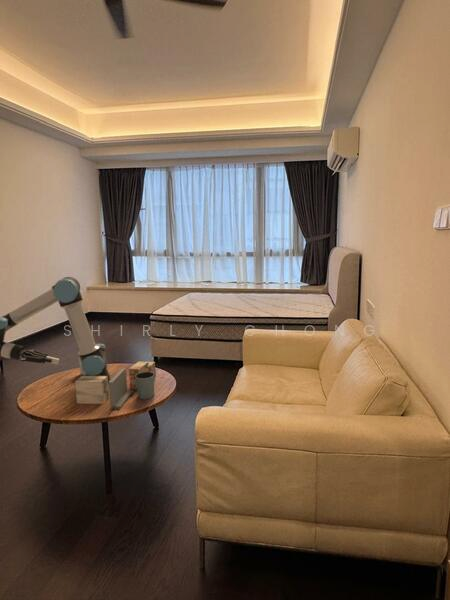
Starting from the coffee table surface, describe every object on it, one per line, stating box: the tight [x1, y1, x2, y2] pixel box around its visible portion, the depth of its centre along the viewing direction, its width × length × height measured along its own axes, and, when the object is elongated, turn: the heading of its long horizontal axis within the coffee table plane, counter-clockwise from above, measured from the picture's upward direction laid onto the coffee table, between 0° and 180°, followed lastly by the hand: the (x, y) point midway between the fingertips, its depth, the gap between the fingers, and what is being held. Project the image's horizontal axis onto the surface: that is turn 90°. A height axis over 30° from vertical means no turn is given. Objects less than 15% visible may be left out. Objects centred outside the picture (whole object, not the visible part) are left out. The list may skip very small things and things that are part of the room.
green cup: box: [135, 372, 156, 400], centre depth 206 cm, size 10×10×12 cm
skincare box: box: [77, 351, 85, 376], centre depth 241 cm, size 8×6×15 cm
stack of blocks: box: [128, 360, 157, 390], centre depth 226 cm, size 21×6×12 cm, turn 166°
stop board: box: [108, 367, 134, 410], centre depth 200 cm, size 20×5×14 cm, turn 176°
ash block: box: [74, 375, 110, 405], centre depth 202 cm, size 8×14×12 cm, turn 86°
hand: (58, 361), depth 201 cm, fingers closed
